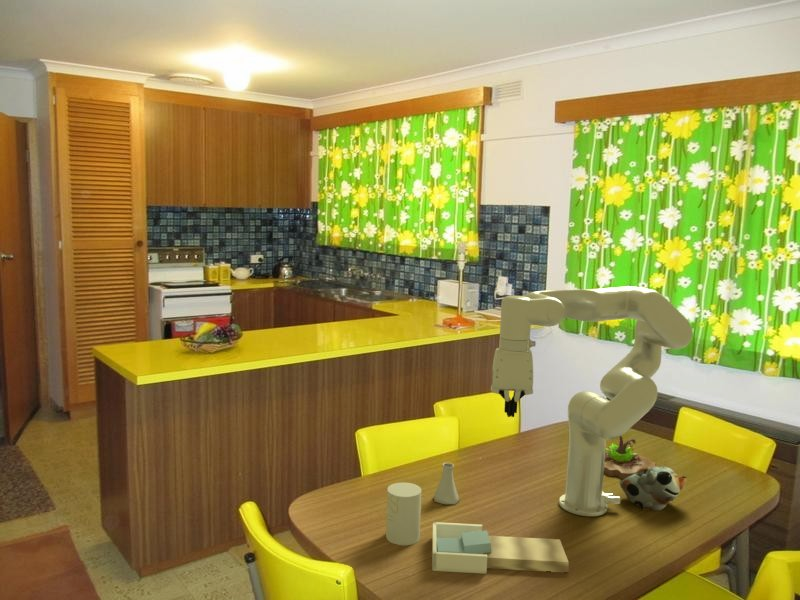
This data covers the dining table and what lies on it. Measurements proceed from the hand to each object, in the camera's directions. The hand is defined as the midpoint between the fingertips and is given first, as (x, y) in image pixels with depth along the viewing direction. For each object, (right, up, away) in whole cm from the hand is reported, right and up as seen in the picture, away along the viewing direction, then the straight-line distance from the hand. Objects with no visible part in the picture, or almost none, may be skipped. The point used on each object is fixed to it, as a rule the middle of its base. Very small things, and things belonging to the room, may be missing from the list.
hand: (510, 415), depth 165 cm
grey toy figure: (+42, -27, +14) cm, 52 cm away
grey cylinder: (-28, -28, -9) cm, 40 cm away
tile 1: (-17, -29, -17) cm, 37 cm away
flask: (-16, -26, +12) cm, 32 cm away
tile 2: (-11, -27, -17) cm, 34 cm away
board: (0, -30, -17) cm, 34 cm away
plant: (+42, -24, +41) cm, 63 cm away
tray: (-15, -29, -17) cm, 37 cm away
